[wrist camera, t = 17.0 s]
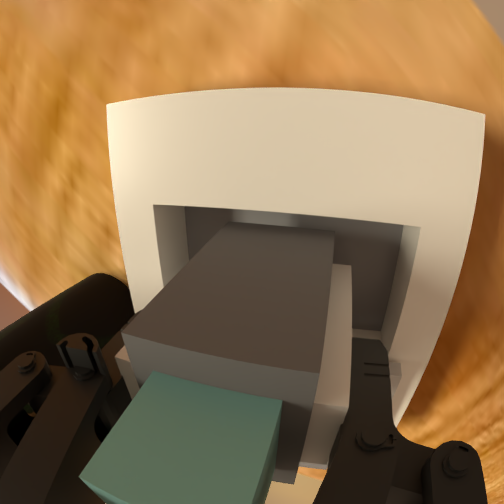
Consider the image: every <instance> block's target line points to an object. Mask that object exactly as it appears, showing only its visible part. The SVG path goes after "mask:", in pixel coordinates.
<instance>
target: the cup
mask: <svg viewBox="0 0 504 504" xmlns="http://www.w3.org/2000/svg"><path fill="white" fill-rule="evenodd" d="M134 315H135V311H134V307H133V303H132V298H131V294H130V290H129V289H128V287H127V286H125V285H124V284H123V283H122V282H120V281H119V280H118V279H116V278H114V277H112V276H110V275H107V274H102V273H96V274H93V275H91V276H89V277H87V278H86V279H84V280H82V281H80V282H79V283H77V284H75V285H74V286H72V287H70V288H69V289H67V290H65V291H64V292H62V293H60V294H59V295H57V296H55V297H54V298H52V299H50V300H49V301H47V302H45V303H44V304H42V305H41V306H39V307H37V308H36V309H34V310H33V311H31V312H29V313H28V314H26V315H25V316H23V317H21V318H20V319H18V320H17V321H15V322H14V323H12V324H11V325H9V326H7V327H6V328H4V329H3V330H1V331H0V371H1V370H3V369H4V368H5V367H6V366H7V365H8V364H9V363H10V362H12V361H13V360H14V359H15V358H16V357H18V356H19V355H21V354H22V353H25V352H28V351H37V352H40V353H42V354H43V355H44V357H45V359H46V361H47V363H48V365H54V366H63V367H66V366H65V364H64V361H63V359H62V357H61V355H60V353H59V350H58V348H57V346H56V344H57V343H58V342H59V341H60V340H62V339H63V338H65V337H67V336H69V335H72V334H76V333H87V334H90V335H93V336H94V337H95V338H96V339H97V341H98V344H99V347H100V349H102V348H103V347H104V346H105V345H106V344H107V343H108V342H109V341H110V340H111V339H112V338H113V337H114V336H115V335H116V333H117V332H118V331H121V328H122V327H123V326H124V325H125V324H127V323H128V321H129V320H130V319H131V318H132V317H133V316H134ZM24 409H25V411H26V412H27V413H28V414H31V413H33V412H34V411H33V409H32V408H31V406H30V405H29V403H28V404H27V405H26V406H25V407H24Z"/></svg>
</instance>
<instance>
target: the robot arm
mask: <svg viewBox="0 0 504 504" xmlns="http://www.w3.org/2000/svg"><path fill="white" fill-rule="evenodd" d="M142 310H143V309H142ZM142 310H140V311H138V312H137V313H135V315H134V316H133V317H132V318H131V319H130V320H129V321H128V323H127V324H125V325H124V326H123V327H122V328H121V331H118V332H117V333H116V335H115V336H114V337H113V338H112V339H111V340H110V341H109V342H108V343H107V344H106V345H105V346H104V347H103V348H102V349H100V347H99V344H98V341H97V339H96V338H95V337H94V336H93V335H90V334H87V333H76V334H72V335H69V336H67V337H65V338H63V339H62V340H60V341H59V342H58V343H57V344H56V346H57V348H58V350H59V353H60V355H61V357H62V359H63V361H64V364H65V366H66V367H63V366H54V365H48V363H47V361H46V359H45V357H44V355H43V354H42V353H40V352H37V351H28V352H25V353H22V354H21V355H19V356H18V357H16V358H15V359H14V360H13V361H12V362H10V363H9V364H8V365H7V366H6V367H5V368H4V369H3V370H1V371H0V504H105V502H104V501H103V500H102V499H101V498H100V497H99V496H98V495H97V494H95V493H94V492H93V491H92V490H91V489H90V488H89V487H88V486H87V485H86V484H85V483H84V482H83V481H82V480H81V479H80V477H79V475H80V474H81V473H82V471H83V470H84V468H85V467H86V465H87V464H88V462H89V461H90V460H91V458H92V457H93V455H94V454H95V452H96V451H97V450H98V448H99V447H100V445H101V444H102V442H103V441H104V440H105V438H106V437H107V435H108V434H109V432H110V431H111V430H112V428H113V427H114V425H115V424H116V422H117V421H118V420H119V418H120V417H121V415H122V414H123V412H124V411H125V410H126V408H127V407H128V405H129V404H130V403H131V401H132V400H133V398H134V397H135V396H136V394H137V393H138V391H139V390H140V388H139V386H138V383H137V380H136V377H135V374H134V371H133V369H132V366H131V363H130V360H129V356H128V353H127V350H126V347H125V344H124V341H123V337H122V334H121V332H122V331H123V330H124V329H125V328H126V327H127V326H128V325H129V324H130V322H131V321H132V320H133V319H134V318H135V317H136V316H137V315H138V314H139V313H140V312H141V311H142ZM28 403H29V405H30V406H31V408H32V409H33V411H34V412H33V413H31V414H28V413H27V412H26V411H25V409H24V407H25V406H26V405H27V404H28ZM328 461H329V462H328ZM300 462H305V463H313V464H321V465H327V463H328V468H327V473H326V475H325V478H324V480H323V482H322V484H321V486H320V488H319V491H318V493H317V495H316V498H315V500H314V502H313V504H488V502H487V495H486V489H485V482H484V477H483V471H482V466H481V461H480V458H479V456H478V453H477V451H476V450H475V449H474V448H473V447H472V446H471V445H469V444H467V443H464V442H462V441H453V440H452V441H449V442H445V443H443V444H441V445H440V446H439V447H438V448H436V449H433V448H430V447H426V446H423V445H419V444H416V443H414V442H411V441H409V440H407V439H406V438H405V437H403V436H402V435H401V434H400V433H399V431H398V430H397V428H396V427H395V425H394V421H393V413H392V395H391V381H390V369H389V358H388V351H387V350H386V348H385V346H384V345H383V343H382V342H381V340H377V339H366V338H356V337H352V274H351V265H342V264H332V276H331V286H330V297H329V306H328V315H327V324H326V332H325V340H324V347H323V355H322V362H321V369H320V375H319V380H318V385H317V390H316V395H315V400H314V404H313V409H312V413H311V418H310V422H309V427H308V431H307V435H306V439H305V443H304V447H303V451H302V455H301V459H300Z"/></svg>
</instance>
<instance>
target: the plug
mask: <svg viewBox="0 0 504 504" xmlns="http://www.w3.org/2000/svg"><path fill="white" fill-rule="evenodd" d="M334 238H335V231H330V230H320V229H310V228H300V227H289V226H278V225H267V224H255V223H243V222H231V221H229V222H228V223H227V224H226V225H225V226H224V227H223V228H222V229H221V230H220V231H219V232H218V233H217V234H216V235H215V236H214V237H213V238H212V239H211V240H210V241H209V242H208V243H207V244H206V245H205V246H204V247H203V248H202V249H201V250H200V251H199V252H198V253H197V254H196V255H195V256H194V257H193V258H192V259H191V260H190V261H189V262H188V263H187V264H186V265H185V266H184V267H183V268H182V269H181V270H180V271H179V272H178V273H177V274H176V275H175V276H174V277H173V278H172V279H171V280H170V281H169V282H168V283H167V284H166V286H165V287H164V288H163V289H162V290H161V291H160V292H159V293H158V294H157V295H156V296H155V297H154V298H153V299H152V300H151V301H150V302H149V303H148V304H147V305H146V306H145V308H144V309H143V310H142V311H141V312H140V313H139V314H138V315H137V316H136V317H135V318H134V319H133V320H132V321H131V322H130V324H129V325H128V326H127V327H126V328H125V329H124V330H123V331H122V332H121V334H122V337H123V341H124V344H125V347H126V350H127V353H128V356H129V360H130V363H131V366H132V369H133V371H134V374H135V377H136V380H137V383H138V386H139V388H140V390H139V391H138V393H137V394H136V396H135V397H134V398H133V400H132V401H131V403H130V404H129V405H128V407H127V408H126V410H125V411H124V412H123V414H122V415H121V417H120V418H119V420H118V421H117V422H116V424H115V425H114V427H113V428H112V430H111V431H110V432H109V434H108V435H107V437H106V438H105V440H104V441H103V442H102V444H101V445H100V447H99V448H98V450H97V451H96V452H95V454H94V455H93V457H92V458H91V460H90V461H89V462H88V464H87V465H86V467H85V468H84V470H83V471H82V473H81V474H80V475H79V477H80V479H81V480H82V481H83V482H84V483H85V484H86V485H87V486H88V487H89V488H90V489H91V490H92V491H93V492H94V493H95V494H97V495H98V496H99V497H100V498H101V499H102V500H103V501H104V502H105V503H106V504H265V500H266V497H267V493H268V491H269V487H270V484H271V481H276V482H282V483H288V484H294V482H295V478H296V474H297V471H298V467H299V463H300V459H301V455H302V451H303V447H304V443H305V439H306V435H307V431H308V427H309V422H310V418H311V413H312V409H313V404H314V400H315V395H316V390H317V385H318V380H319V375H320V369H321V362H322V355H323V347H324V340H325V332H326V324H327V315H328V306H329V297H330V286H331V276H332V264H333V252H334Z"/></svg>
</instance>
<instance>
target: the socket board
mask: <svg viewBox="0 0 504 504" xmlns="http://www.w3.org/2000/svg"><path fill="white" fill-rule="evenodd" d="M107 127H108V142H109V155H110V166H111V176H112V185H113V193H114V201H115V209H116V216H117V223H118V229H119V236H120V242H121V248H122V253H123V259H124V264H125V269H126V274H127V279H128V284H129V289H130V294H131V298H132V303H133V307H134V311H135V313H137V312H138V311H140V310H142V309H144V308H145V306H146V305H147V304H148V303H149V302H150V301H151V300H152V299H153V298H154V297H155V296H156V295H157V294H158V293H159V292H160V291H161V290H162V289H163V288H164V287H165V286H166V284H167V283H168V282H169V281H170V280H171V279H172V278H173V277H174V276H175V275H176V274H177V273H178V272H179V271H180V270H181V269H182V268H183V267H184V266H185V265H186V264H187V263H188V262H189V261H190V260H191V259H192V258H193V257H194V256H195V255H196V254H197V253H198V252H199V251H200V250H201V249H202V248H203V247H204V246H205V245H206V244H207V243H208V242H209V241H210V240H211V239H212V238H213V237H214V236H215V235H216V234H217V233H218V232H219V231H220V230H221V229H222V228H223V227H224V226H225V225H226V224H227V223H228V222H229V221H231V222H243V223H255V224H267V225H278V226H289V227H300V228H310V229H320V230H330V231H335V238H334V252H333V264H342V265H351V274H352V337H356V338H366V339H377V340H381V342H382V343H383V345H384V346H385V348H386V350H387V351H388V358H389V362H393V363H400V364H401V371H402V377H401V380H400V382H399V385H398V387H397V389H396V392H395V394H394V396H393V398H392V413H393V421H394V425H395V427H397V425H398V423H399V421H400V420H401V418H402V416H403V414H404V412H405V410H406V408H407V406H408V404H409V402H410V400H411V398H412V396H413V394H414V392H415V390H416V388H417V386H418V384H419V382H420V380H421V378H422V375H423V373H424V371H425V369H426V366H427V364H428V362H429V359H430V357H431V355H432V352H433V350H434V347H435V345H436V342H437V340H438V337H439V335H440V332H441V329H442V327H443V324H444V321H445V318H446V316H447V313H448V310H449V307H450V304H451V301H452V298H453V295H454V291H455V288H456V285H457V281H458V278H459V275H460V271H461V267H462V264H463V260H464V256H465V252H466V248H467V244H468V240H469V235H470V231H471V226H472V221H473V216H474V211H475V205H476V200H477V194H478V187H479V180H480V173H481V164H482V155H483V144H484V131H485V114H482V113H478V112H474V111H470V110H466V109H462V108H458V107H453V106H449V105H444V104H439V103H434V102H429V101H423V100H418V99H412V98H406V97H399V96H392V95H385V94H376V93H368V92H358V91H347V90H333V89H315V88H237V89H219V90H205V91H194V92H184V93H175V94H166V95H159V96H152V97H145V98H139V99H133V100H127V101H121V102H116V103H111V104H107Z"/></svg>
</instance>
